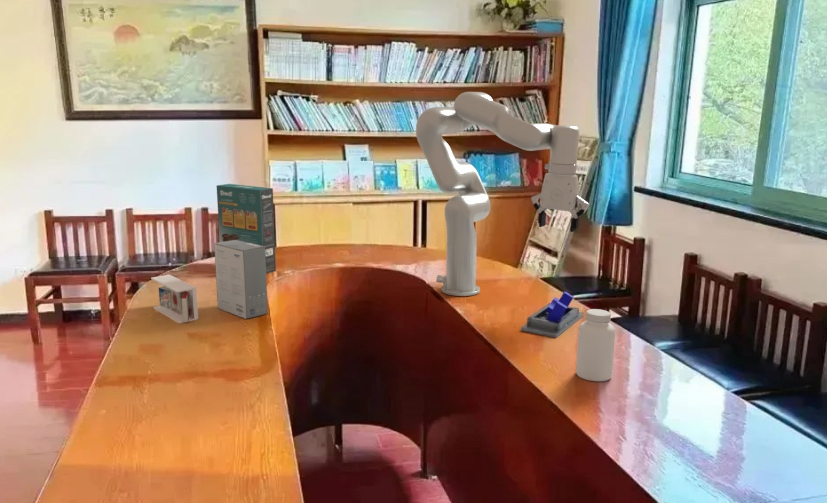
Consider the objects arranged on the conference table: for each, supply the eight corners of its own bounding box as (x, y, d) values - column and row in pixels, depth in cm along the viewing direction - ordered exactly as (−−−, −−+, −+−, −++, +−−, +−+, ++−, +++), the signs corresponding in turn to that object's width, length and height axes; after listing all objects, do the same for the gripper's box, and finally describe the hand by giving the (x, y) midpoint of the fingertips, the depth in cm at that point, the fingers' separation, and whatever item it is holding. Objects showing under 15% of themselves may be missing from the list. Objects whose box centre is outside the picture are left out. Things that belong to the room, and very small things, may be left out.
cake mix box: (275, 271, 243) (272, 188, 236) (263, 274, 238) (260, 190, 231) (233, 262, 254) (229, 183, 248) (220, 266, 249) (216, 185, 243)
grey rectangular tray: (520, 330, 182) (521, 320, 181) (550, 310, 200) (551, 300, 199) (556, 337, 177) (556, 326, 176) (583, 316, 195) (584, 306, 194)
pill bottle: (612, 371, 155) (617, 309, 152) (610, 384, 148) (615, 319, 144) (577, 366, 157) (581, 305, 154) (573, 379, 150) (578, 315, 147)
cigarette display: (153, 308, 199) (150, 277, 197) (171, 304, 203) (169, 274, 200) (181, 324, 184) (178, 291, 182) (200, 320, 188) (198, 288, 186)
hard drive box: (269, 314, 194) (266, 246, 190) (246, 320, 189) (242, 250, 184) (238, 303, 204) (235, 238, 200) (216, 308, 199) (212, 242, 195)
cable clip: (549, 305, 194) (560, 288, 192) (563, 313, 193) (574, 296, 191) (541, 317, 183) (551, 299, 181) (555, 326, 182) (566, 308, 180)
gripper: (528, 168, 193) (524, 226, 197) (586, 173, 183) (581, 235, 187) (539, 166, 199) (535, 222, 203) (596, 171, 189) (590, 231, 193)
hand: (557, 228), depth 195 cm, fingers open, 9 cm apart
